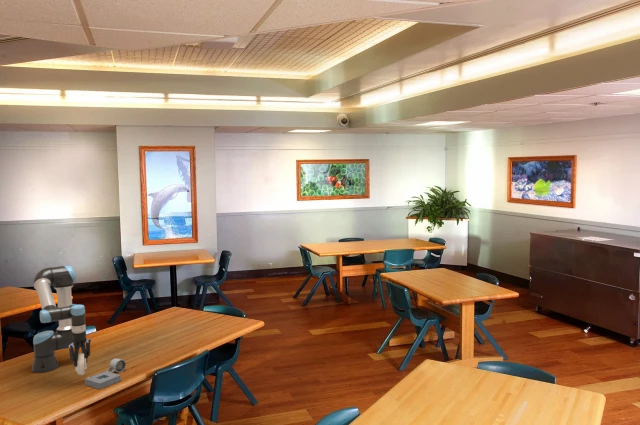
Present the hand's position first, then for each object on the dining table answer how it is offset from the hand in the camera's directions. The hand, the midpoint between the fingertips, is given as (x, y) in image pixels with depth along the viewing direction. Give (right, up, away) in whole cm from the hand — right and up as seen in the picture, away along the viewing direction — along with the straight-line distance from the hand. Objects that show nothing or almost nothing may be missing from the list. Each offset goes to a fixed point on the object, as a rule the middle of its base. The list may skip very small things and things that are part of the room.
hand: (81, 369), depth 310 cm
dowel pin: (0, -2, 0) cm, 2 cm away
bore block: (+13, -8, +1) cm, 15 cm away
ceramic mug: (+13, -7, +19) cm, 24 cm away
